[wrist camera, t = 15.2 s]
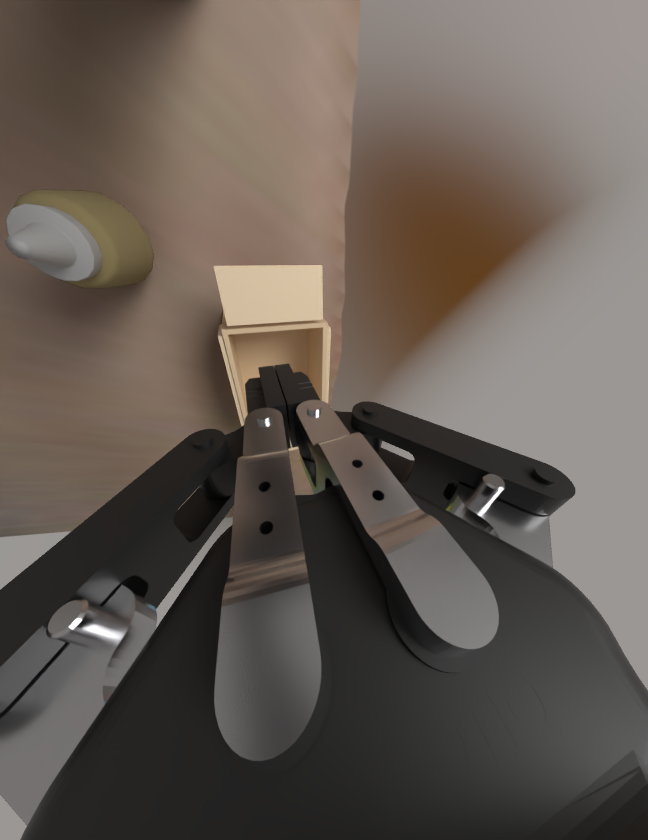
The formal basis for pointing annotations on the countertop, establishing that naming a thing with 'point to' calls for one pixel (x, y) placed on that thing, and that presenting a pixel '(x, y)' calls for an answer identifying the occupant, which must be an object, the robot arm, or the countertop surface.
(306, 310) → the flap
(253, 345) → the carton
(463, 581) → the robot arm
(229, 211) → the countertop surface
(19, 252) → the squeeze bottle
